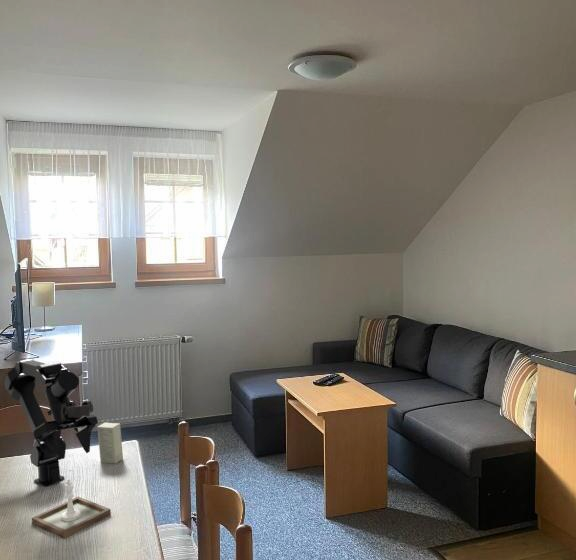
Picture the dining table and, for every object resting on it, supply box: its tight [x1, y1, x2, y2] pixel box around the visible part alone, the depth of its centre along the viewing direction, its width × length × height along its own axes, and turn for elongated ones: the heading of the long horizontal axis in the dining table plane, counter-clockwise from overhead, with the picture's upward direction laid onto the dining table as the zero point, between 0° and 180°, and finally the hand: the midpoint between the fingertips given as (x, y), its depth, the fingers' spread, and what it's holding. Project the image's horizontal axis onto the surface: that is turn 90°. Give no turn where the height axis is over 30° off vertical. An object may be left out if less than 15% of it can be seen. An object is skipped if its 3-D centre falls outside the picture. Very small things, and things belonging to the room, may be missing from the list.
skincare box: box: [96, 422, 124, 464], centre depth 190 cm, size 6×4×12 cm
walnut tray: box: [31, 496, 112, 540], centre depth 152 cm, size 14×14×2 cm
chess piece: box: [61, 479, 81, 521], centre depth 152 cm, size 5×5×10 cm
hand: (75, 455), depth 162 cm, fingers open, 9 cm apart
